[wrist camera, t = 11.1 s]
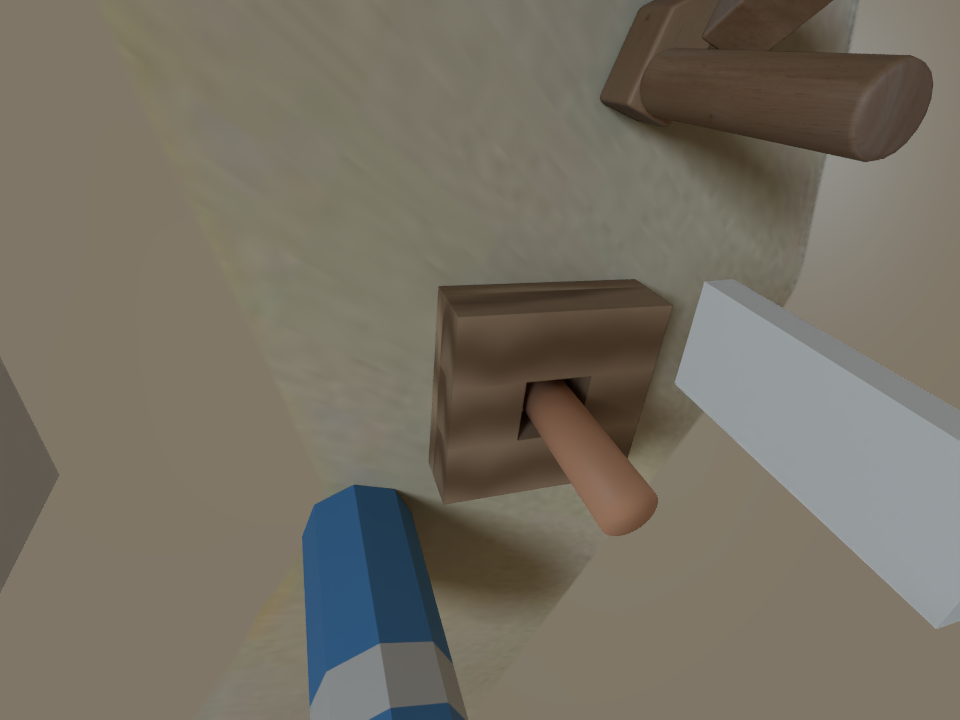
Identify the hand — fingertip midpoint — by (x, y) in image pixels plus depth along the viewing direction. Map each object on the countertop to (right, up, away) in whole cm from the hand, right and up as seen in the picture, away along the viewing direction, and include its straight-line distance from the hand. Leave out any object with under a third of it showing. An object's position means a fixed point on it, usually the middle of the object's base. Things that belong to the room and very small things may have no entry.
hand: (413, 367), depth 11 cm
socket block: (+5, -1, +33) cm, 33 cm away
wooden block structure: (+12, +21, +22) cm, 33 cm away
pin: (+6, -2, +32) cm, 32 cm away
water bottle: (-9, -14, +36) cm, 39 cm away
